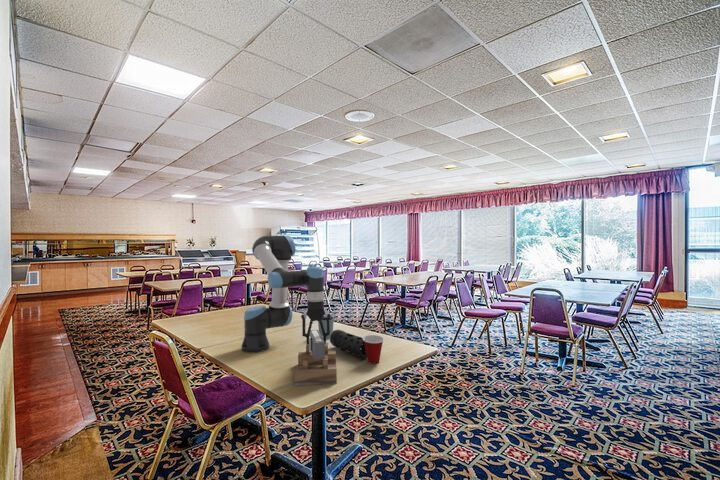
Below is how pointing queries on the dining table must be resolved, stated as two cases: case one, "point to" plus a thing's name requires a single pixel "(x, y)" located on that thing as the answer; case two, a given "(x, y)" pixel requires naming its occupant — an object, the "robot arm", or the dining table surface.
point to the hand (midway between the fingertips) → (316, 350)
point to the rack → (315, 368)
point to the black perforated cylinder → (348, 343)
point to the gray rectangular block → (317, 345)
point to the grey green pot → (324, 320)
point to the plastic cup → (373, 347)
